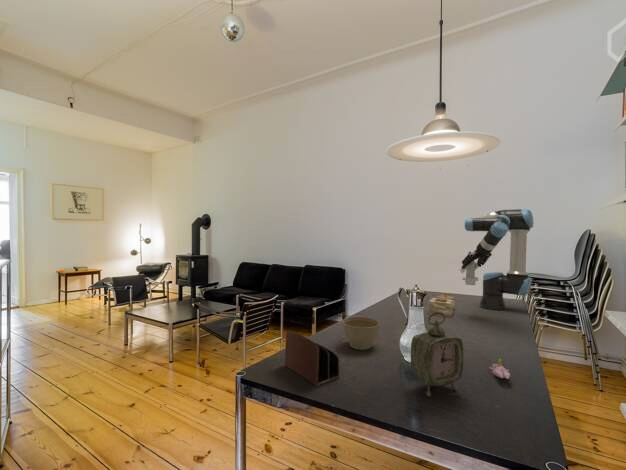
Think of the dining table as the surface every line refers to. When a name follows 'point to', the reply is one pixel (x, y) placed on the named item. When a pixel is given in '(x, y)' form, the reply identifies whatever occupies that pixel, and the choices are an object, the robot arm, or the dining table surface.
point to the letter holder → (310, 359)
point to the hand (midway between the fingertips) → (466, 271)
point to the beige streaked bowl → (441, 306)
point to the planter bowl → (360, 331)
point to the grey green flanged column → (470, 274)
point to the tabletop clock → (437, 356)
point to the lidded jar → (446, 297)
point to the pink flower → (500, 370)
